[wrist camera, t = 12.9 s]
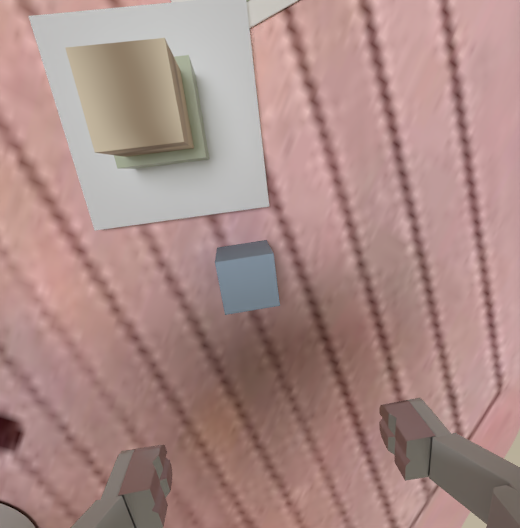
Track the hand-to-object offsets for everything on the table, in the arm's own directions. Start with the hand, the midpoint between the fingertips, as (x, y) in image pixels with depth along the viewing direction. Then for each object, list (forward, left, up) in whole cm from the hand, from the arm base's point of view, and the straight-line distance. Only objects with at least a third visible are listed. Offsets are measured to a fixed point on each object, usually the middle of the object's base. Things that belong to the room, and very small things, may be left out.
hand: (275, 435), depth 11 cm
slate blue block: (0, 0, -20) cm, 20 cm away
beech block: (-5, +14, -15) cm, 21 cm away
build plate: (-5, +14, -20) cm, 25 cm away
